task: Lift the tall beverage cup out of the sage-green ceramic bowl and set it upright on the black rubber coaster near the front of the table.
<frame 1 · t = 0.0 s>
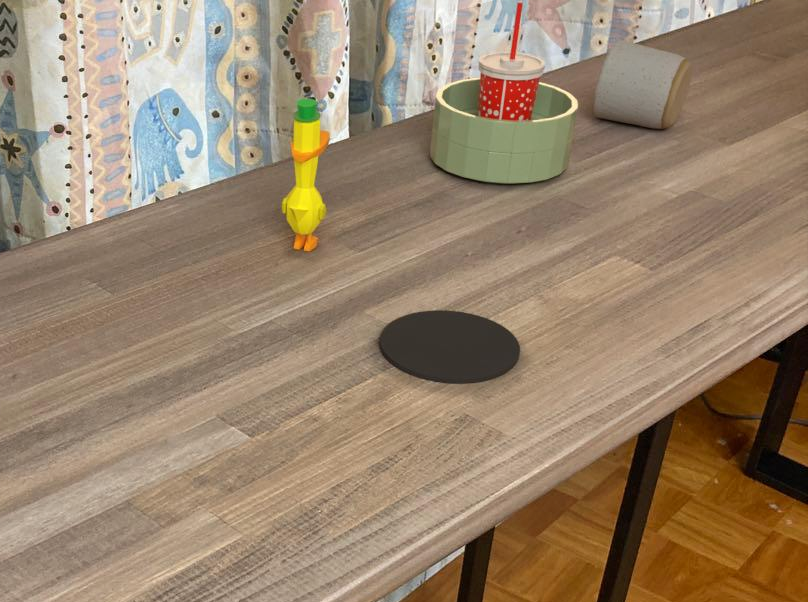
beverage cup: (498, 159, 110), resting on bowl
coaster: (449, 347, 81), on the table
toy figure: (306, 246, 94), on the table
bowl: (497, 161, 110), on the table
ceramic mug: (635, 120, 120), on the table
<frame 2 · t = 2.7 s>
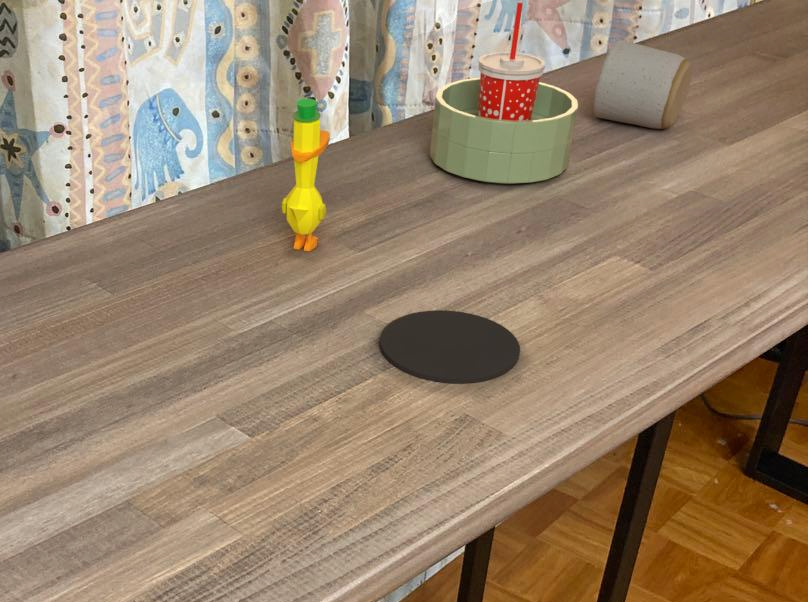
nothing on the table moved.
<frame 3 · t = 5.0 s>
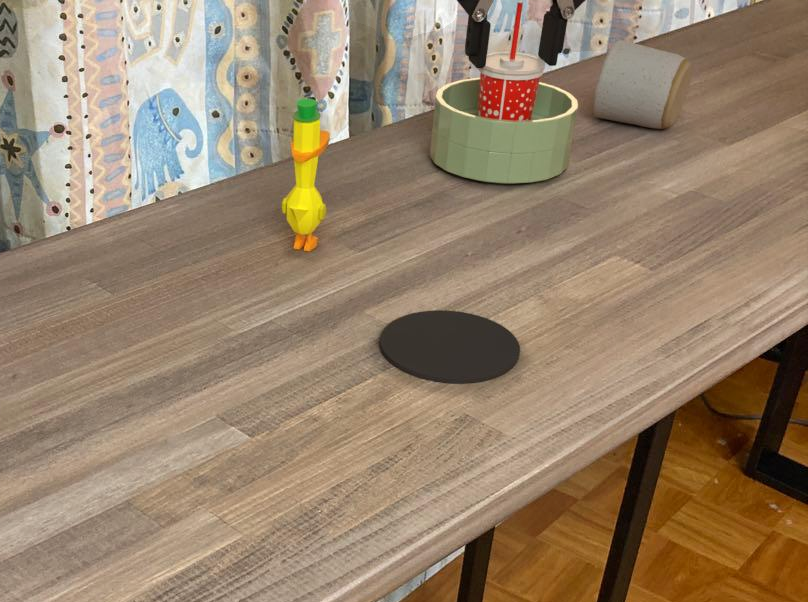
hand: (512, 60, 104), 9 cm above the table, tool pointing down, fingers closed on beverage cup, 6 cm apart
beverage cup: (498, 159, 110), resting on bowl, touching gripper
everything else where it was.
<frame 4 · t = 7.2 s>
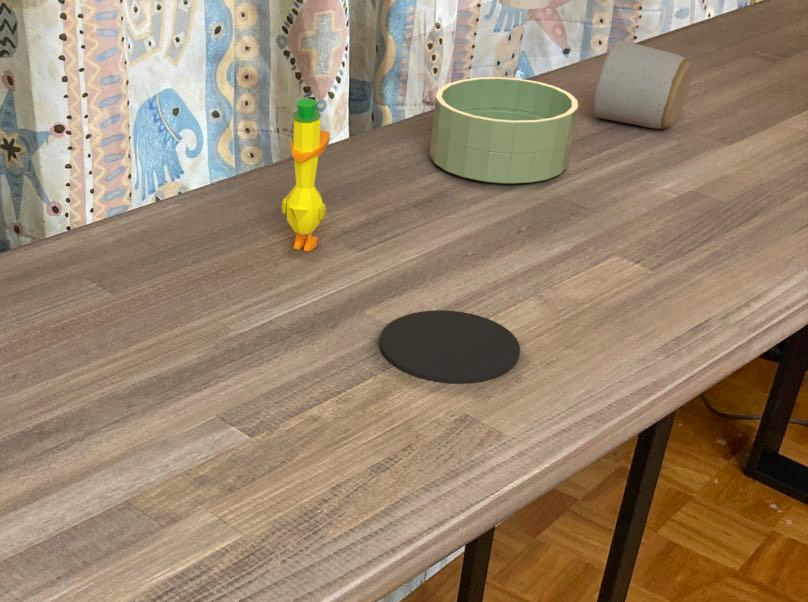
beverage cup: (524, 4, 99), point 15 cm above the table, touching gripper
everything else where it was.
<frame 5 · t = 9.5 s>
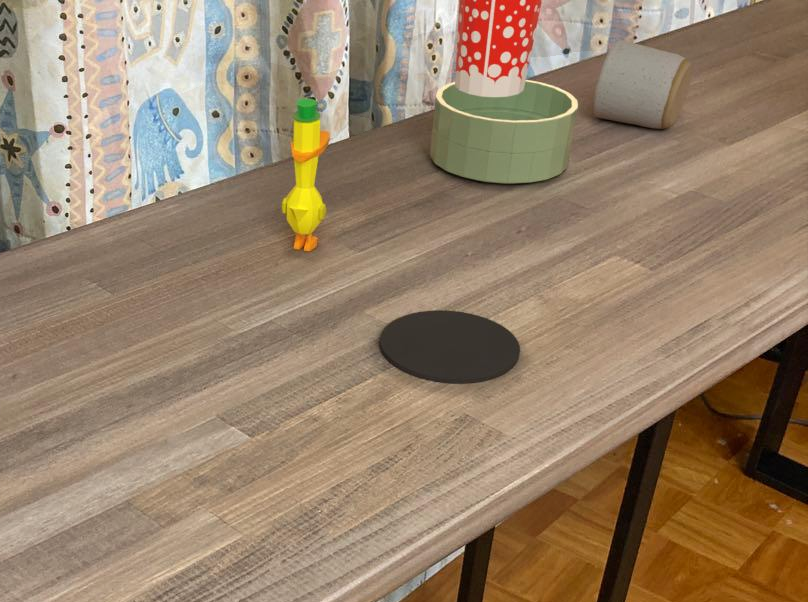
beverage cup: (488, 89, 75), point 16 cm above the table, touching gripper
everything else where it was.
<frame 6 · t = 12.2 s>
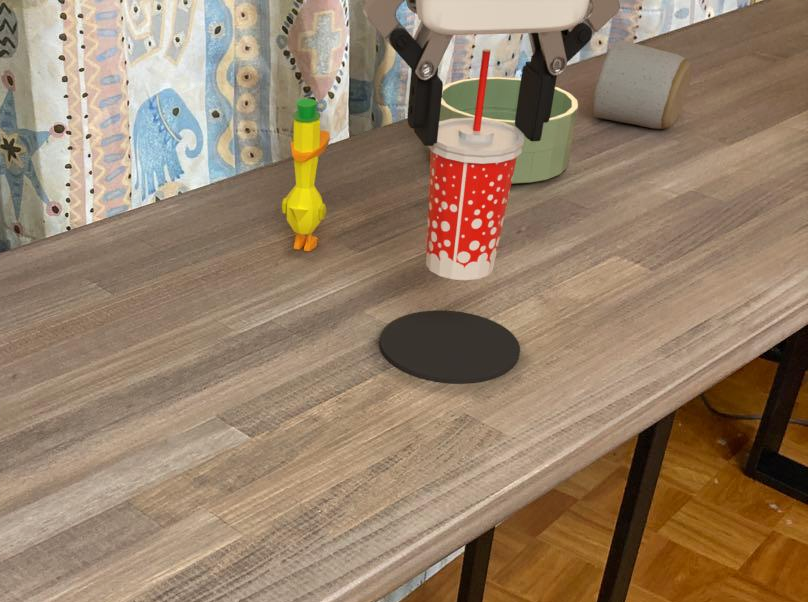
hand: (476, 133, 71), 15 cm above the table, tool pointing down, fingers closed on beverage cup, 6 cm apart
beverage cup: (459, 268, 77), point 6 cm above the table, touching gripper
everything else where it was.
when the fingers open (9 cm above the table, at t = 14.2 s): beverage cup stays where it is, resting on coaster.
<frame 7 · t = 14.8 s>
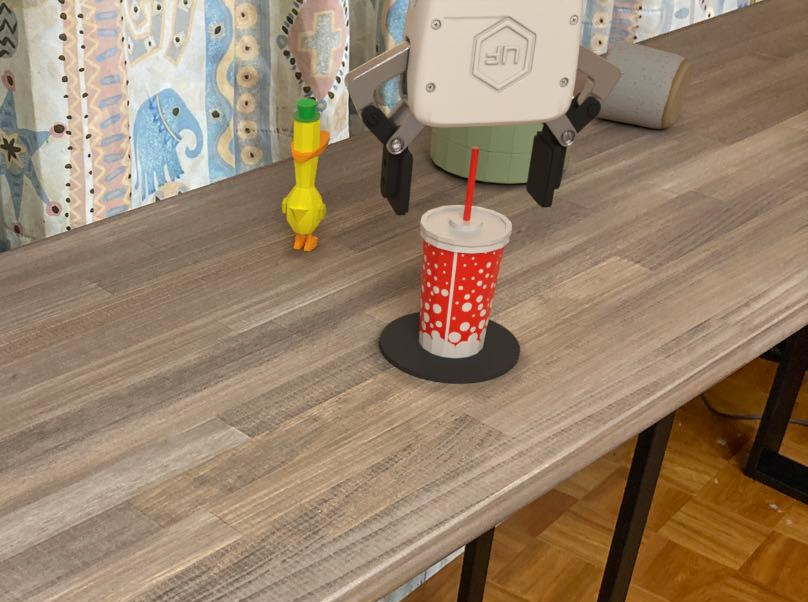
hand: (468, 203, 74), 11 cm above the table, tool pointing down, fingers open, 9 cm apart
beverage cup: (450, 344, 81), resting on coaster
everything else where it was.
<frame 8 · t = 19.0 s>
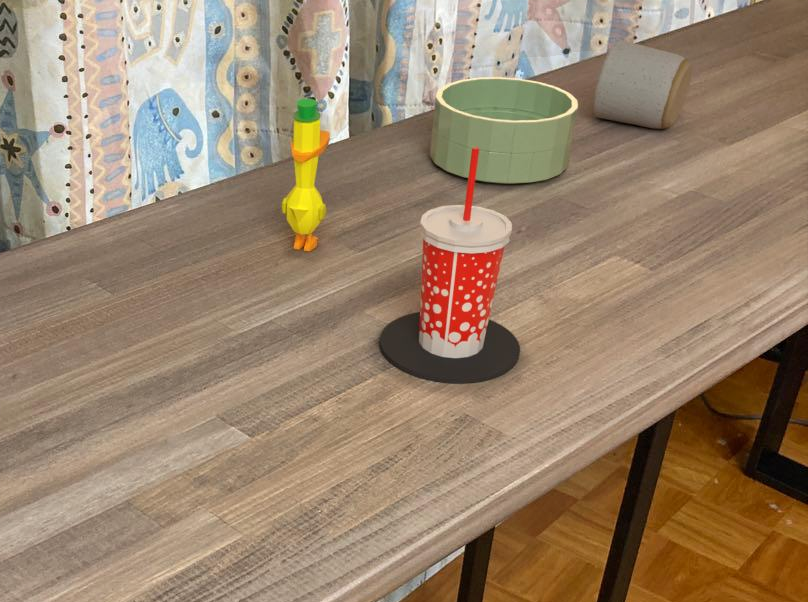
nothing on the table moved.
at the end: beverage cup 0.1 cm off-centre on the coaster, point 0.2 cm above the coaster's base; beverage cup tilted 0°; beverage cup touching coaster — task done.
